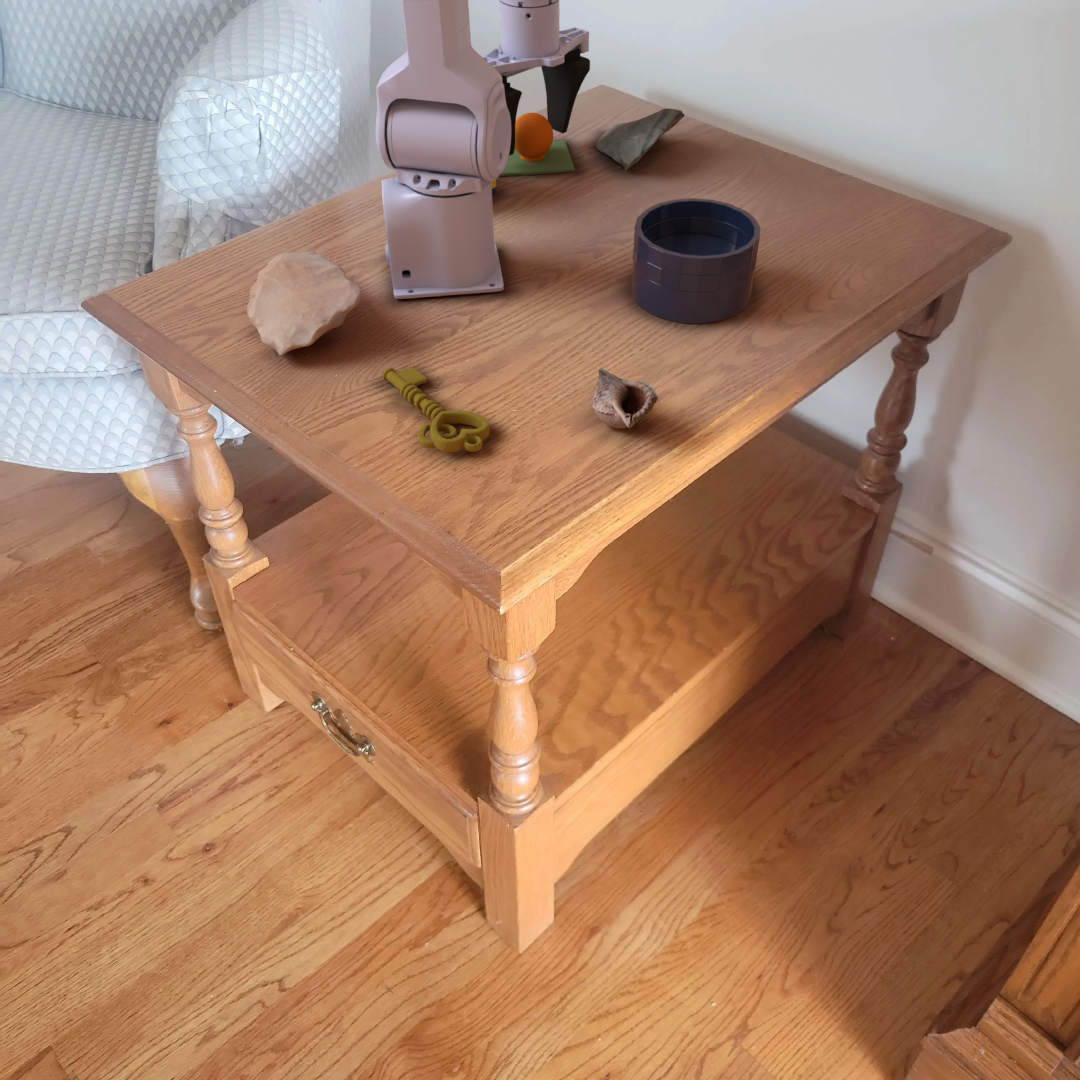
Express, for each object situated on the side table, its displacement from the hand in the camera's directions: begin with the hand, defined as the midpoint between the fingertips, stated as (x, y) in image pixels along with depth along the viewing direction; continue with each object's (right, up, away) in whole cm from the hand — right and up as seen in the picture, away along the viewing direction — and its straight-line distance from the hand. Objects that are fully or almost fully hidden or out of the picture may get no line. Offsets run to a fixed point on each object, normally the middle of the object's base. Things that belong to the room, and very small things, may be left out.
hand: (531, 140), depth 105 cm
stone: (+10, -1, +2) cm, 11 cm away
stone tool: (-16, -25, -26) cm, 40 cm away
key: (-5, -31, -29) cm, 42 cm away
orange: (0, 0, 0) cm, 1 cm away
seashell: (+8, -31, -30) cm, 44 cm away
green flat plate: (0, -1, +1) cm, 2 cm away
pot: (+14, -20, -18) cm, 30 cm away
